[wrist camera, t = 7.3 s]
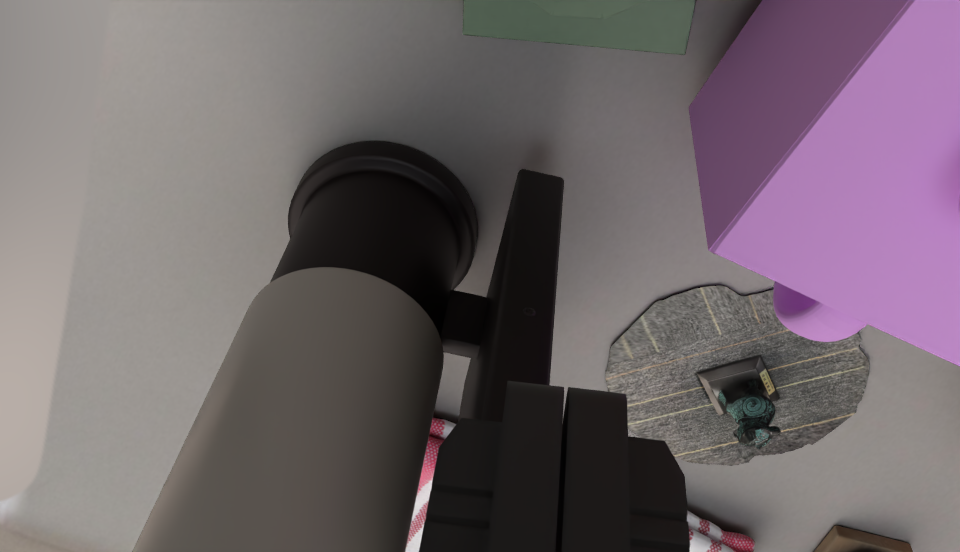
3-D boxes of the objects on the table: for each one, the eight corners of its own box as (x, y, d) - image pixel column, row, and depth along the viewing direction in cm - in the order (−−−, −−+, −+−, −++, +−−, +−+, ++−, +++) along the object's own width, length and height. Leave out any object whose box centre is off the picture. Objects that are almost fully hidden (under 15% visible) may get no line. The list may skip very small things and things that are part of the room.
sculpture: (921, 357, 43) (870, 522, 41) (789, 353, 51) (742, 489, 49) (720, 243, 39) (655, 419, 37) (614, 259, 48) (558, 403, 46)
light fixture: (302, 80, 37) (-35, 658, 18) (568, 139, 37) (524, 771, 18) (285, 302, 44) (37, 879, 25) (507, 351, 45) (430, 956, 25)
